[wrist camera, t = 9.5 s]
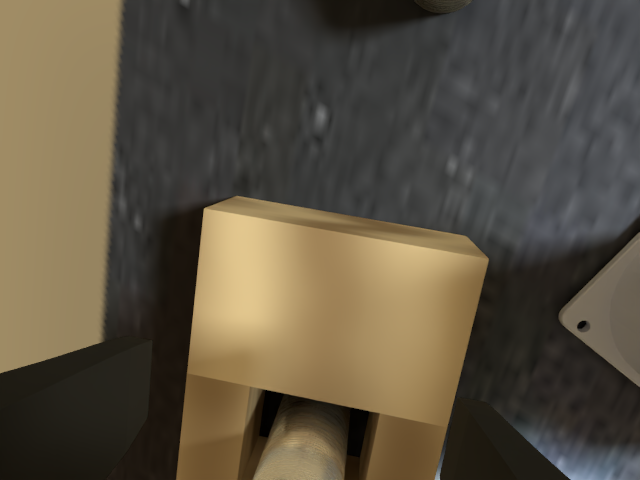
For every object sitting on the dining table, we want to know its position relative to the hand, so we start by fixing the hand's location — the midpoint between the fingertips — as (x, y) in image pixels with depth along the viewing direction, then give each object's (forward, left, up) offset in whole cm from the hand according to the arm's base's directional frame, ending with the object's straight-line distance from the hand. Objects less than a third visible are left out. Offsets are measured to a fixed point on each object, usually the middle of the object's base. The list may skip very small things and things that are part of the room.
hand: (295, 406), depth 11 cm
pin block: (-2, +3, -10) cm, 11 cm away
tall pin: (-3, +5, -10) cm, 12 cm away
